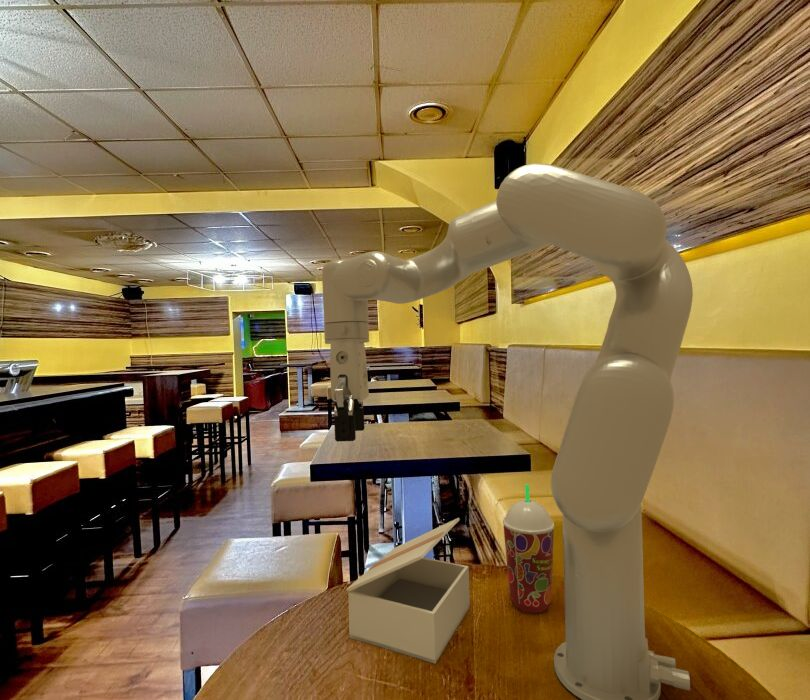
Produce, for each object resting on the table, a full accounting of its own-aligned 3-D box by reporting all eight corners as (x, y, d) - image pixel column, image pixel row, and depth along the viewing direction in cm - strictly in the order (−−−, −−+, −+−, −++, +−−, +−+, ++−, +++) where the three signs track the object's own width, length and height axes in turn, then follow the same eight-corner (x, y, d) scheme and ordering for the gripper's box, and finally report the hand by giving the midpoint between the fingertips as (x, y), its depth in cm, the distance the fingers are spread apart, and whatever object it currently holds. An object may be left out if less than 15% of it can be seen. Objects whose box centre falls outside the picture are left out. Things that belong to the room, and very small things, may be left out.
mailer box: (469, 607, 75) (468, 566, 75) (435, 663, 61) (433, 614, 61) (395, 589, 81) (394, 551, 81) (349, 637, 68) (348, 592, 68)
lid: (459, 519, 76) (458, 517, 76) (422, 558, 62) (420, 555, 62) (395, 550, 81) (393, 547, 81) (347, 591, 67) (345, 588, 68)
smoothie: (546, 624, 69) (542, 495, 70) (496, 607, 74) (493, 487, 75) (563, 600, 76) (560, 482, 76) (517, 585, 81) (513, 475, 81)
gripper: (361, 330, 67) (365, 445, 67) (374, 335, 84) (378, 426, 84) (311, 332, 68) (316, 446, 67) (335, 337, 85) (339, 427, 85)
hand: (350, 435), depth 76 cm, fingers open, 9 cm apart
